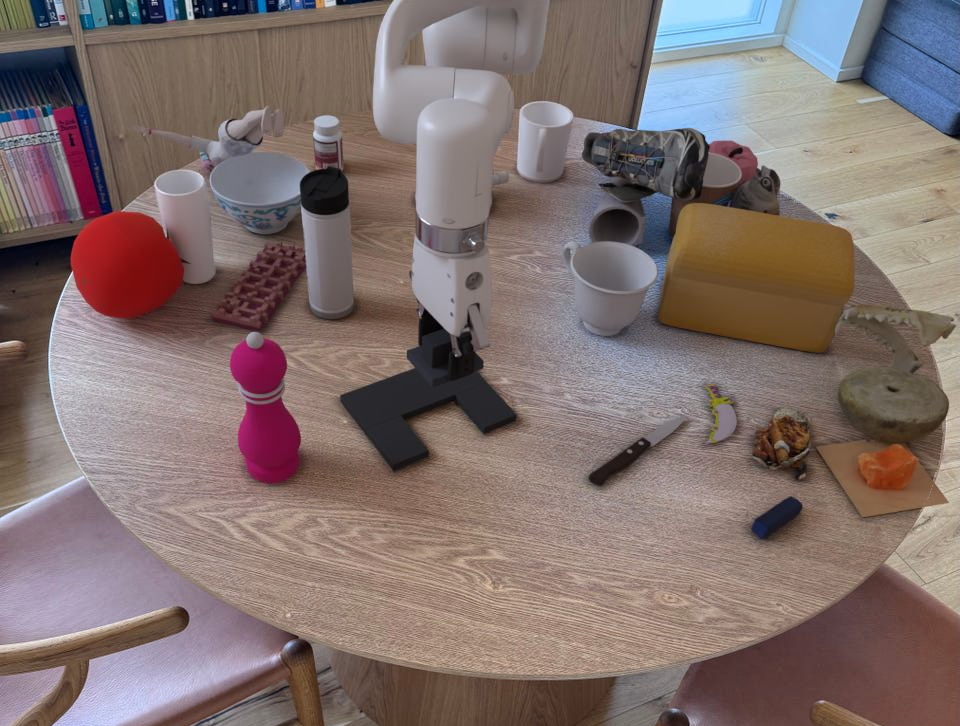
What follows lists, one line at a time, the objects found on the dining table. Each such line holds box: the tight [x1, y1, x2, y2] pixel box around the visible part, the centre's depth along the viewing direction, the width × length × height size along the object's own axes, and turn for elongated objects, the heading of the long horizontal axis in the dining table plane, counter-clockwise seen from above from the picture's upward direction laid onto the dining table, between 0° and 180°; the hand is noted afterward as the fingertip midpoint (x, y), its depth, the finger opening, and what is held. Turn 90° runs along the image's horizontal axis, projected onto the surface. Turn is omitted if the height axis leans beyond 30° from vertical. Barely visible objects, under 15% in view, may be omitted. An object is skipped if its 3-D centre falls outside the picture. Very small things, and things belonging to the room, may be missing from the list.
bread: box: [657, 203, 855, 354], centre depth 133 cm, size 24×13×15 cm, turn 78°
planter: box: [588, 177, 647, 247], centre depth 154 cm, size 8×9×26 cm
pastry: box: [751, 407, 812, 481], centre depth 119 cm, size 7×12×4 cm, turn 163°
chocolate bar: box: [210, 240, 306, 333], centre depth 135 cm, size 7×19×2 cm, turn 164°
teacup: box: [561, 240, 659, 337], centre depth 132 cm, size 12×15×10 cm
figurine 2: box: [729, 165, 781, 216], centre depth 145 cm, size 9×19×10 cm
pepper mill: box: [229, 331, 302, 484], centre depth 105 cm, size 7×7×20 cm
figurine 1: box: [131, 105, 285, 174], centre depth 143 cm, size 29×6×30 cm
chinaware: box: [209, 151, 311, 235], centre depth 144 cm, size 15×15×8 cm
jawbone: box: [835, 303, 957, 375], centre depth 127 cm, size 12×13×8 cm
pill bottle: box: [312, 114, 344, 172], centre depth 156 cm, size 5×5×8 cm
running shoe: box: [581, 127, 710, 211], centre depth 141 cm, size 12×28×12 cm
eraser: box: [751, 495, 804, 540], centre depth 111 cm, size 2×2×7 cm
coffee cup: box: [668, 152, 742, 241], centre depth 147 cm, size 10×10×12 cm
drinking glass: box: [153, 169, 217, 285], centre depth 131 cm, size 7×7×15 cm
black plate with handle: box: [406, 329, 485, 388], centre depth 109 cm, size 7×6×4 cm
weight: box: [837, 365, 950, 444], centre depth 123 cm, size 14×13×5 cm
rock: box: [815, 437, 950, 518], centre depth 116 cm, size 12×12×4 cm
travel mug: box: [300, 166, 355, 320], centre depth 126 cm, size 6×7×20 cm
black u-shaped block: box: [339, 367, 518, 472], centre depth 120 cm, size 18×14×1 cm
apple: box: [708, 140, 759, 201], centre depth 157 cm, size 10×9×10 cm
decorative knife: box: [704, 383, 737, 444], centre depth 123 cm, size 12×1×5 cm
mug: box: [516, 100, 574, 184], centre depth 158 cm, size 11×9×10 cm
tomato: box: [70, 210, 191, 320], centre depth 127 cm, size 16×14×14 cm
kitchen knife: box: [588, 414, 687, 487], centre depth 118 cm, size 18×1×2 cm
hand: (445, 358), depth 110 cm, fingers closed on black plate with handle, 6 cm apart
